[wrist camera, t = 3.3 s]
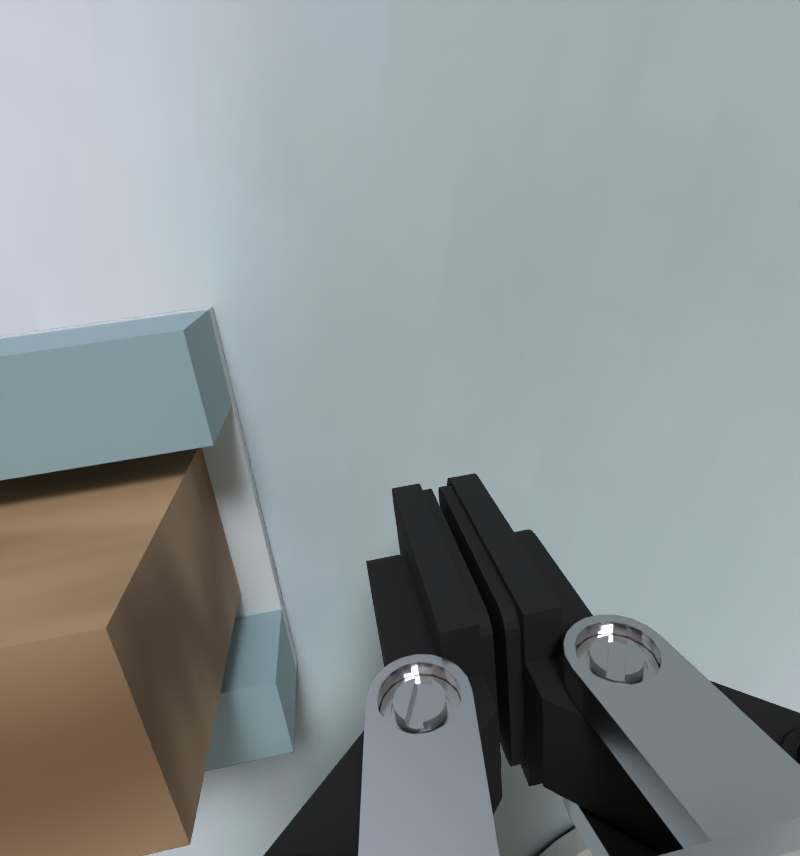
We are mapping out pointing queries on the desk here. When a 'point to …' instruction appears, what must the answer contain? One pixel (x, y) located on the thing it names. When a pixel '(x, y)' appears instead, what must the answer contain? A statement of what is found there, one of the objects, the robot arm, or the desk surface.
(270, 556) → the chute
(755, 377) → the desk surface
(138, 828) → the walnut block
